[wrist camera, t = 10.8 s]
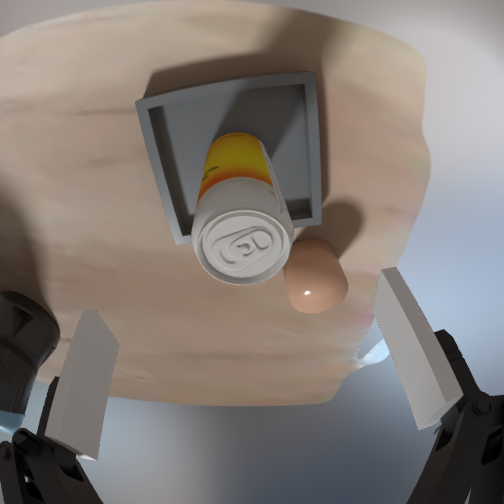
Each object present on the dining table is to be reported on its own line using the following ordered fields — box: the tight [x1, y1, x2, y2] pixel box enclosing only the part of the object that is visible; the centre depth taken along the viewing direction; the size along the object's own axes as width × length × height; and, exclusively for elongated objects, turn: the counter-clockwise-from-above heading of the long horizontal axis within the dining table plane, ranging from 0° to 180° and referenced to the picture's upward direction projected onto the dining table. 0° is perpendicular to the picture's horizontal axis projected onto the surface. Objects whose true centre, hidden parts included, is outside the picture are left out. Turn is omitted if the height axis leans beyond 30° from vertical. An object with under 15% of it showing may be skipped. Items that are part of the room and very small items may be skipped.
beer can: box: [191, 132, 294, 285], centre depth 23 cm, size 6×6×15 cm
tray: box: [135, 71, 322, 245], centre depth 28 cm, size 16×16×3 cm
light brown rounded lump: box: [283, 238, 348, 314], centre depth 36 cm, size 7×7×6 cm
